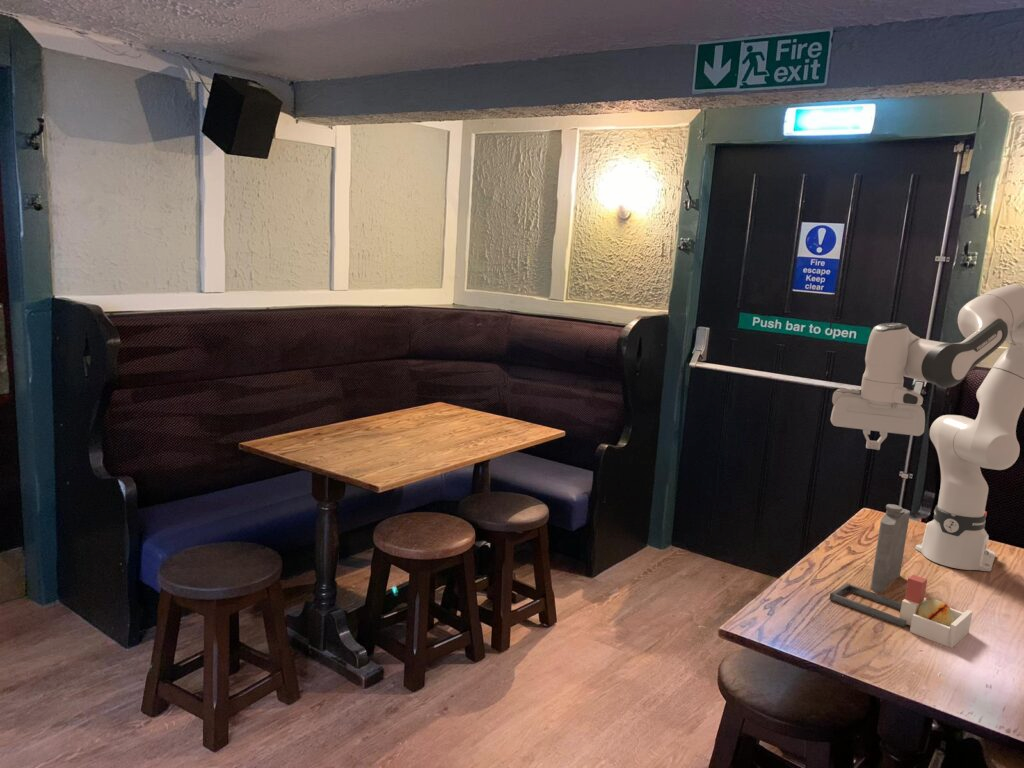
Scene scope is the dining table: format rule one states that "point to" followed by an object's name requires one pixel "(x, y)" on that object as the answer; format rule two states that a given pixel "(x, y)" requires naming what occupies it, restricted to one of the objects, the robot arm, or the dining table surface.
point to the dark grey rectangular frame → (866, 609)
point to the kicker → (913, 597)
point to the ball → (936, 612)
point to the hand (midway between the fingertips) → (872, 448)
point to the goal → (943, 628)
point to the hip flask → (890, 547)
